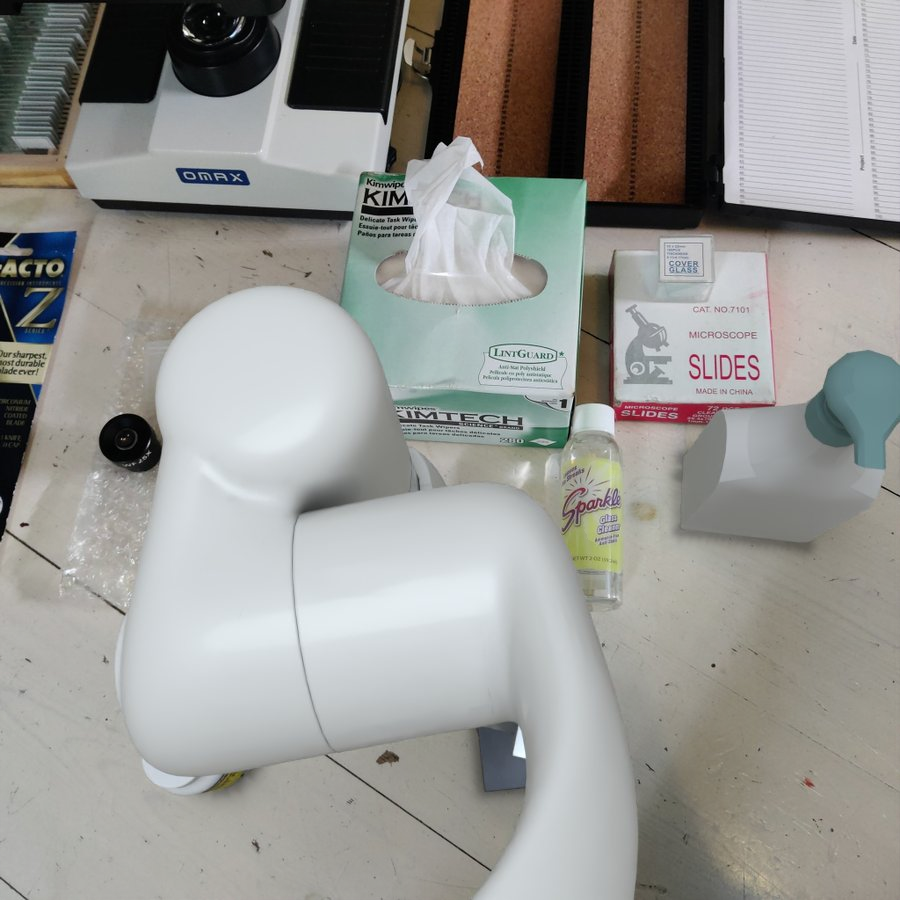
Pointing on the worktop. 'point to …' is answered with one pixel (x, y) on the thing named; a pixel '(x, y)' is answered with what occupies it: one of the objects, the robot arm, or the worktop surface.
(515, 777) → the tap column
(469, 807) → the worktop surface
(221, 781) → the pill bottle
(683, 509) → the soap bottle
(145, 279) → the worktop surface
